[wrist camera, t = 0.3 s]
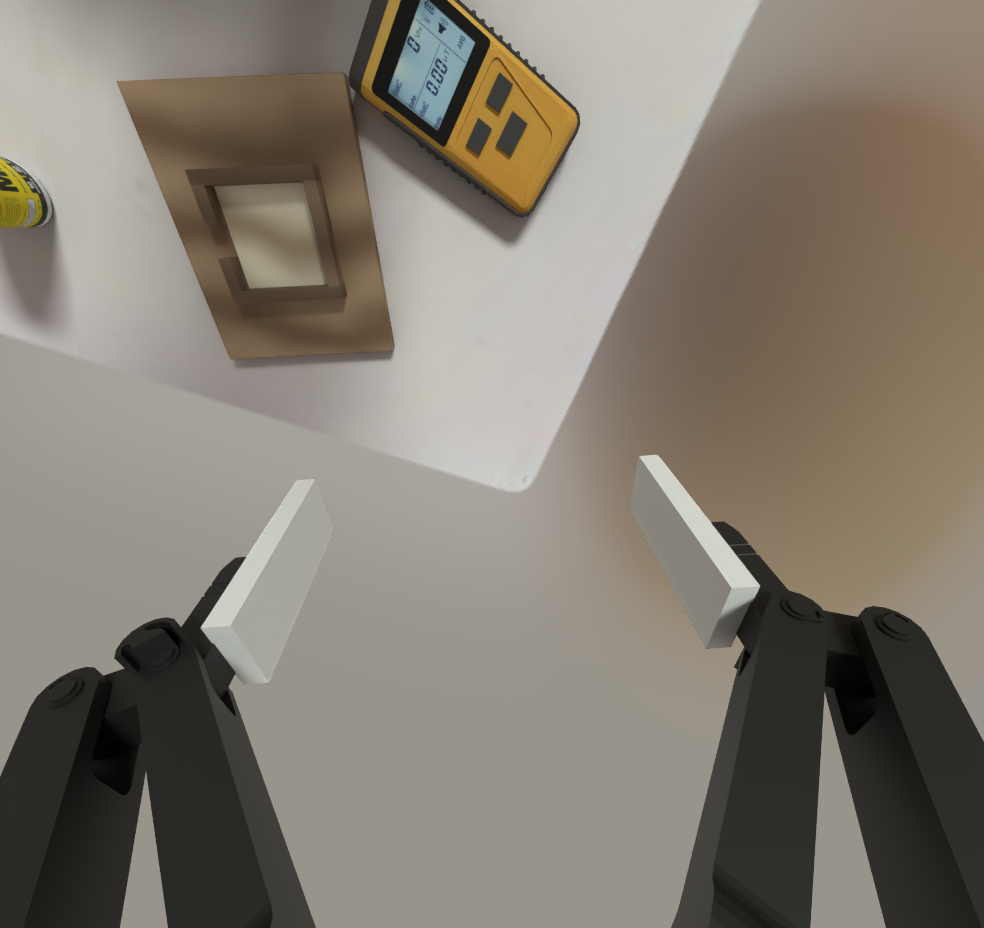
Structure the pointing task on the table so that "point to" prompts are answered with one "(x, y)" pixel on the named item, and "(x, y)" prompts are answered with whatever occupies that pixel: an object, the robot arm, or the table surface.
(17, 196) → the supplement bottle
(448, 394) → the table surface
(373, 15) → the electronic device
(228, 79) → the board
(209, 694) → the robot arm
